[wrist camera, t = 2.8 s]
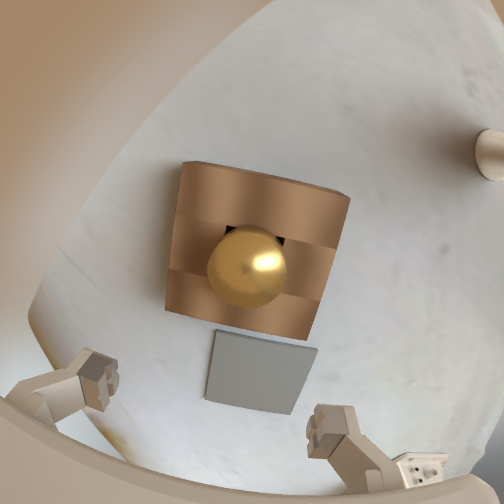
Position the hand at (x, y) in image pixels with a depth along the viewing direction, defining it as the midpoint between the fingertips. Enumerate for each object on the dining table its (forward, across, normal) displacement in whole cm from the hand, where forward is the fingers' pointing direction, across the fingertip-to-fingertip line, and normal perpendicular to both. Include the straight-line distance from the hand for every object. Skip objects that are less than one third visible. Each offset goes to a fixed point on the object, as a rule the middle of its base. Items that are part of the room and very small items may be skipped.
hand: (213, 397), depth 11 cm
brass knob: (+21, 0, 0) cm, 21 cm away
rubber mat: (+21, -4, +17) cm, 27 cm away
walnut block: (+21, 0, 0) cm, 21 cm away
